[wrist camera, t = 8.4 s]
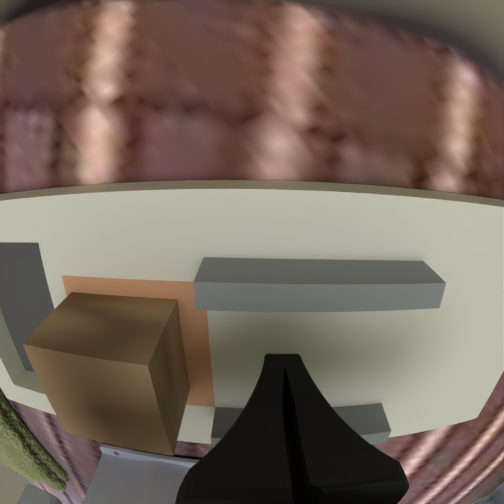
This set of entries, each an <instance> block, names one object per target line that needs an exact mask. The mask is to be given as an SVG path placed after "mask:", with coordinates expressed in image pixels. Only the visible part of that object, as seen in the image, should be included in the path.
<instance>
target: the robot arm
mask: <svg viewBox="0 0 504 504" xmlns="http://www.w3.org/2000/svg"><path fill="white" fill-rule="evenodd" d="M100 450H101V452H102V455H101V458H100V460H99V463H98V465H97V468H96V470H95V473H94V475H93V478H92V480H91V483H90V486H89V488H88V491H87V493H86V496H85V499H84V501H83V504H397V503H398V502H399V501H400V500H401V499H402V497H403V496H404V495H405V494H406V492H407V491H408V489H409V484H408V480H407V477H406V475H405V473H404V471H403V469H402V467H401V465H400V463H399V462H398V461H396V460H395V459H393V458H391V457H390V456H388V455H386V454H384V453H383V452H381V451H380V450H378V449H377V448H375V447H374V446H373V445H371V444H370V443H368V442H367V441H366V440H365V439H364V438H362V437H361V436H360V435H359V434H358V433H357V432H355V431H354V430H353V429H352V428H351V427H350V426H349V425H348V424H347V423H346V422H345V421H344V420H343V419H342V418H341V417H340V416H339V415H338V414H337V412H336V411H335V410H334V409H333V408H332V406H331V405H330V404H329V403H328V401H327V400H326V399H325V397H324V396H323V395H322V393H321V392H320V390H319V389H318V387H317V386H316V384H315V383H314V381H313V379H312V378H311V376H310V374H309V372H308V371H307V369H306V367H305V365H304V363H303V361H302V358H301V356H300V355H299V354H266V355H265V356H264V363H263V367H262V371H261V374H260V377H259V379H258V381H257V384H256V386H255V389H254V391H253V393H252V395H251V396H250V398H249V400H248V402H247V404H246V406H245V407H244V409H243V411H242V412H241V414H240V415H239V417H238V418H237V420H236V421H235V423H234V424H233V425H232V427H231V428H230V429H229V430H228V432H227V433H226V434H225V435H224V437H223V438H222V439H221V440H220V441H219V442H218V443H217V444H216V445H215V446H214V447H213V448H212V449H211V450H210V451H209V452H208V453H207V454H206V455H205V456H204V457H203V458H202V459H201V460H196V459H187V458H179V457H171V456H164V455H158V454H152V453H146V452H140V451H135V450H130V449H125V448H120V447H116V446H112V445H107V444H101V446H100ZM17 504H62V502H61V501H60V500H59V499H58V498H57V497H55V496H54V495H52V494H50V493H48V492H46V491H44V490H41V489H39V488H37V487H35V486H32V485H30V484H26V486H25V488H24V490H23V492H22V494H21V496H20V499H19V501H18V503H17ZM470 504H504V483H503V484H501V485H500V486H499V487H497V488H496V489H495V490H494V491H493V492H492V494H491V495H488V496H486V497H484V498H482V499H479V500H477V501H475V502H472V503H470Z"/></svg>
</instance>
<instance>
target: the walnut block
mask: <svg viewBox="0 0 504 504" xmlns="http://www.w3.org/2000/svg"><path fill="white" fill-rule="evenodd" d="M23 346H24V349H25V351H26V353H27V356H28V358H29V360H30V363H31V365H32V367H33V369H34V371H35V374H36V376H37V378H38V380H39V382H40V384H41V386H42V388H43V390H44V392H45V394H46V396H47V398H48V400H49V402H50V404H51V406H52V408H53V409H54V411H55V413H56V415H57V417H58V419H59V420H60V422H61V424H62V426H63V427H64V429H65V431H66V432H67V433H70V434H73V435H76V436H80V437H83V438H87V439H91V440H95V441H99V442H103V443H107V444H111V445H116V446H120V447H125V448H130V449H135V450H140V451H146V452H151V453H158V454H164V455H171V456H174V451H175V447H176V443H177V439H178V435H179V431H180V427H181V423H182V419H183V415H184V411H185V407H186V403H187V399H188V395H189V391H190V387H189V381H188V374H187V368H186V361H185V354H184V347H183V339H182V332H181V324H180V316H179V307H178V299H164V298H146V297H130V296H116V295H102V294H89V293H78V292H71V293H70V294H69V295H68V296H67V297H66V298H65V299H64V300H63V301H62V302H61V303H60V304H59V305H58V306H57V307H56V308H55V309H54V310H53V311H52V312H51V313H50V315H49V316H48V317H47V318H46V319H45V320H44V321H43V322H42V323H41V324H40V325H39V326H38V327H37V328H36V329H35V330H34V332H33V333H32V334H31V335H30V336H29V337H28V338H27V339H26V340H25V341H24V343H23Z"/></svg>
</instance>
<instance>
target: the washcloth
mask: <svg viewBox="0 0 504 504" xmlns="http://www.w3.org/2000/svg"><path fill="white" fill-rule="evenodd" d="M0 463H1V464H3V465H5V466H6V467H8V468H10V469H11V470H12V471H15V472H17V473H19V474H21V475H22V476H24V477H26V478H28V479H30V480H32V481H37V482H43V483H46V484H47V485H48V486H49V487H51V488H53V489H55V490H57V491H64V490H65V489H66V486H67V485H66V483H65V482H64V480H66V479H67V478H68V474H67V472H65V471H64V470H63V469H62V468H61V467H60V466H59V464H58V463H57V462H56V461H55V460H54V459H53V458H52V457H51V456H50V455H49V453H48V452H47V451H46V450H45V449H44V448H43V447H42V446H41V444H40V443H39V442H38V441H37V440H36V438H35V437H34V436H33V435H32V433H31V432H30V430H28V429H27V427H26V426H25V424H24V423H23V422H22V420H21V419H20V418H19V416H18V415H17V413H16V412H15V411H14V410H13V408H12V407H11V406H10V405H9V403H8V402H7V400H6V399H5V398H4V395H3V393H2V392H1V391H0Z"/></svg>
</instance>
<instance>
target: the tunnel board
mask: <svg viewBox="0 0 504 504" xmlns="http://www.w3.org/2000/svg"><path fill="white" fill-rule="evenodd" d="M71 292H78V293H89V294H102V295H116V296H130V297H146V298H164V299H178V307H179V316H180V324H181V332H182V339H183V347H184V354H185V361H186V368H187V374H188V381H189V387H190V391H189V395H188V399H187V403H186V407H185V411H184V415H183V419H182V423H181V427H180V431H179V435H178V439H177V441H185V442H194V443H205V444H212V448H213V447H214V446H215V445H216V444H217V443H218V442H219V441H220V440H221V439H222V438H223V437H224V435H225V434H226V433H227V432H228V430H229V429H230V428H231V427H232V425H233V424H234V423H235V421H236V420H237V418H238V417H239V415H240V414H241V412H242V411H243V409H244V407H245V406H246V404H247V402H248V400H249V398H250V396H251V395H252V393H253V391H254V389H255V386H256V384H257V381H258V379H259V377H260V374H261V371H262V367H263V363H264V356H265V355H266V354H299V355H300V356H301V358H302V361H303V363H304V365H305V367H306V369H307V371H308V372H309V374H310V376H311V378H312V379H313V381H314V383H315V384H316V386H317V387H318V389H319V390H320V392H321V393H322V395H323V396H324V397H325V399H326V400H327V401H328V403H329V404H330V405H331V406H332V408H333V409H334V410H335V411H336V412H337V414H338V415H339V416H340V417H341V418H342V419H343V420H344V421H345V422H346V423H347V424H348V425H349V426H350V427H351V428H352V429H353V430H354V431H355V432H357V433H358V434H359V435H360V436H361V437H362V438H364V439H365V440H366V441H367V442H368V443H370V444H371V445H373V444H380V443H386V441H387V439H388V438H389V437H395V436H401V435H407V434H412V433H417V432H422V431H427V430H432V429H436V428H440V427H445V426H449V425H453V424H457V423H460V422H464V421H468V420H471V419H475V418H477V416H478V415H479V413H480V412H481V410H482V408H483V407H484V405H485V403H486V402H487V400H488V398H489V396H490V395H491V393H492V391H493V389H494V388H495V386H496V384H497V382H498V380H499V378H500V376H501V374H502V372H503V371H504V200H500V199H493V198H486V197H479V196H472V195H464V194H456V193H448V192H439V191H430V190H421V189H411V188H400V187H388V186H376V185H362V184H346V183H328V182H306V181H273V180H184V181H152V182H130V183H112V184H97V185H83V186H71V187H59V188H49V189H39V190H30V191H21V192H13V193H5V194H0V387H1V389H2V391H3V392H4V394H5V396H6V398H8V399H10V400H13V401H16V402H18V403H21V404H24V405H27V406H29V407H32V408H35V409H38V410H41V411H44V412H48V413H51V414H54V415H56V413H55V411H54V409H53V408H52V406H51V404H50V402H49V400H48V398H47V396H46V394H45V392H44V390H43V388H42V386H41V384H40V382H39V380H38V378H37V376H36V374H35V371H34V369H33V367H32V365H31V363H30V360H29V358H28V356H27V353H26V351H25V349H24V346H23V343H24V341H25V340H26V339H27V338H28V337H29V336H30V335H31V334H32V333H33V332H34V330H35V329H36V328H37V327H38V326H39V325H40V324H41V323H42V322H43V321H44V320H45V319H46V318H47V317H48V316H49V315H50V313H51V312H52V311H53V310H54V309H55V308H56V307H57V306H58V305H59V304H60V303H61V302H62V301H63V300H64V299H65V298H66V297H67V296H68V295H69V294H70V293H71Z"/></svg>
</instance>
